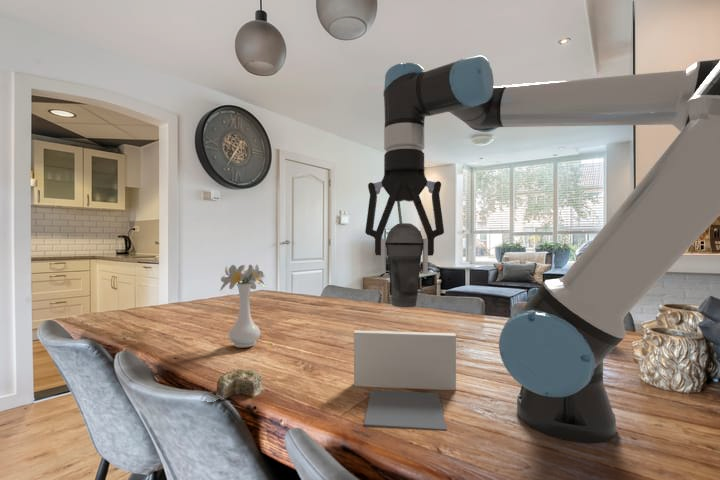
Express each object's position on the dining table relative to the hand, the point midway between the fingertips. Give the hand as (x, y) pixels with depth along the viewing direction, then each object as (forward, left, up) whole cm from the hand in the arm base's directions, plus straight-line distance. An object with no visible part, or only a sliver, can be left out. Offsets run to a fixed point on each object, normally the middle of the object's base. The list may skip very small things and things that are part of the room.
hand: (404, 272), depth 68 cm
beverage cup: (0, 0, -6) cm, 6 cm away
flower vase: (+57, +24, -26) cm, 67 cm away
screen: (+9, -5, -26) cm, 28 cm away
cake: (+21, +28, -27) cm, 44 cm away
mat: (0, 0, -26) cm, 26 cm away
